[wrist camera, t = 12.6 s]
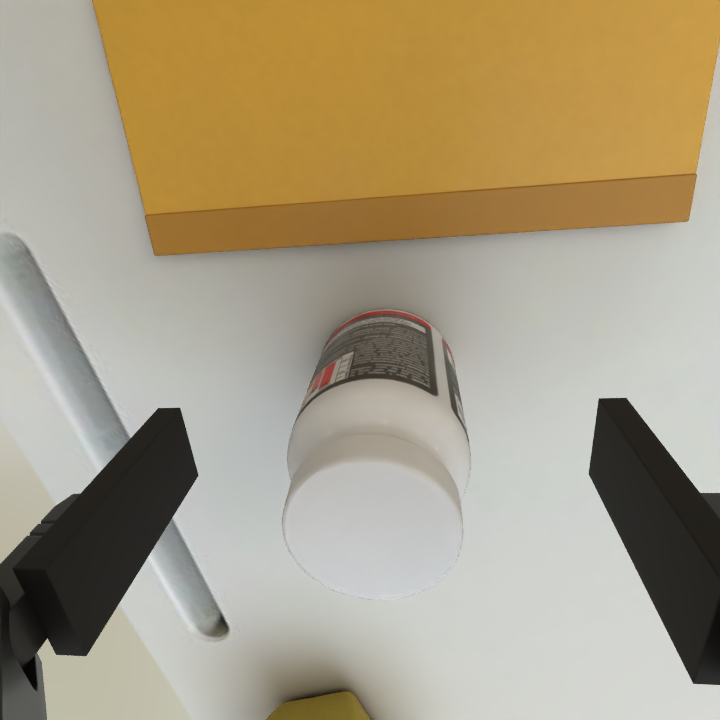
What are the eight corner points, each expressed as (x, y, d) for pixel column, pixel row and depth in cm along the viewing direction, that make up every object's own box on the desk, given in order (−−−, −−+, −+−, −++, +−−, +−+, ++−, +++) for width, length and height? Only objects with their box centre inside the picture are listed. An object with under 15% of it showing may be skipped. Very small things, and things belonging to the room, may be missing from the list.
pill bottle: (296, 372, 22) (217, 535, 13) (378, 276, 20) (350, 393, 11) (394, 446, 23) (383, 642, 14) (482, 363, 21) (534, 533, 12)
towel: (34, -264, 14) (19, -280, 14) (792, -420, 12) (810, -447, 11) (160, 253, 20) (154, 256, 20) (681, 219, 18) (689, 222, 17)
